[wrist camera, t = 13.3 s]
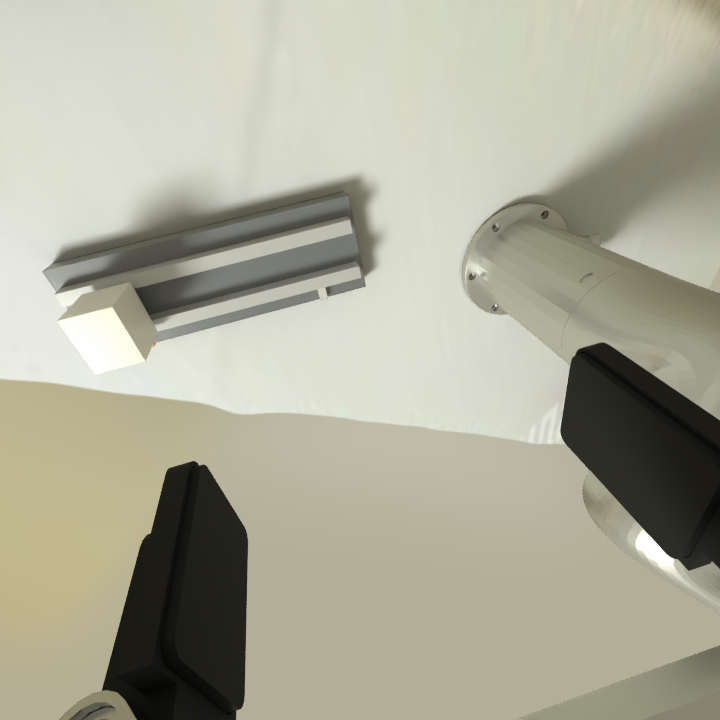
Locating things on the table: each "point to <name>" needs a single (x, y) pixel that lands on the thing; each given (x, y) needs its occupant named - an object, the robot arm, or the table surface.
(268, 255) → the slider console
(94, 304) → the fader tab
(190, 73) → the table surface
